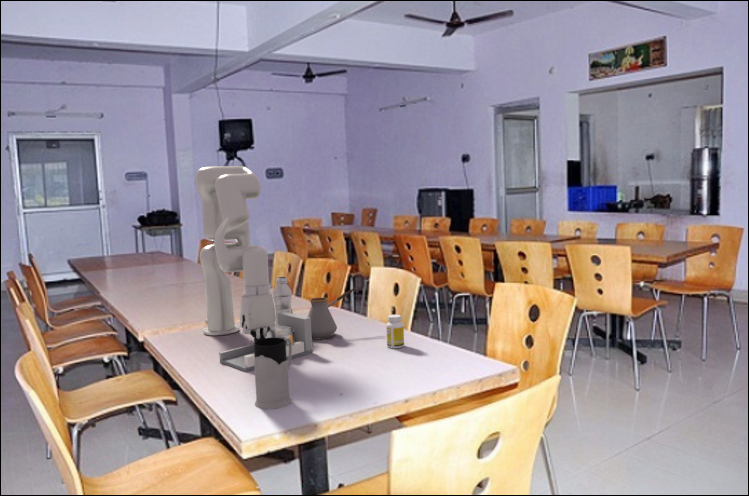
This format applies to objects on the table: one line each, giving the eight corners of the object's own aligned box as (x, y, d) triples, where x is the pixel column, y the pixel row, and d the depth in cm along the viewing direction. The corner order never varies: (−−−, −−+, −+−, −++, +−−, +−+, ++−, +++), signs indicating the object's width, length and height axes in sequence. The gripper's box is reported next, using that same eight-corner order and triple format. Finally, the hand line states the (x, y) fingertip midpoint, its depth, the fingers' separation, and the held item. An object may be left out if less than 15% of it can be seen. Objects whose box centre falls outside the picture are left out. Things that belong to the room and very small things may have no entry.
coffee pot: (313, 342, 197) (311, 297, 196) (297, 336, 207) (295, 293, 205) (367, 331, 209) (366, 289, 207) (350, 325, 219) (348, 285, 217)
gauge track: (219, 362, 179) (217, 326, 178) (285, 344, 196) (283, 311, 195) (245, 371, 169) (243, 333, 168) (312, 352, 186) (310, 317, 185)
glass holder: (247, 407, 143) (243, 345, 141) (277, 387, 156) (274, 330, 154) (280, 410, 139) (276, 347, 138) (308, 390, 153) (305, 332, 151)
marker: (286, 343, 181) (286, 336, 181) (290, 342, 182) (289, 335, 181) (289, 344, 180) (289, 336, 180) (292, 343, 181) (292, 335, 180)
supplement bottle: (406, 344, 191) (405, 314, 190) (400, 349, 186) (399, 318, 185) (391, 343, 193) (390, 313, 192) (384, 348, 188) (383, 317, 187)
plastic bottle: (290, 336, 206) (287, 279, 203) (272, 336, 207) (268, 279, 205) (297, 332, 212) (294, 276, 210) (278, 331, 213) (275, 276, 211)
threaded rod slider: (262, 349, 186) (261, 327, 185) (299, 340, 196) (298, 319, 195) (283, 356, 178) (282, 333, 178) (320, 346, 188) (319, 324, 187)
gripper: (270, 285, 187) (273, 342, 189) (228, 292, 177) (232, 353, 179) (284, 287, 182) (287, 346, 184) (241, 295, 171) (245, 358, 174)
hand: (260, 349), depth 181 cm, fingers closed
